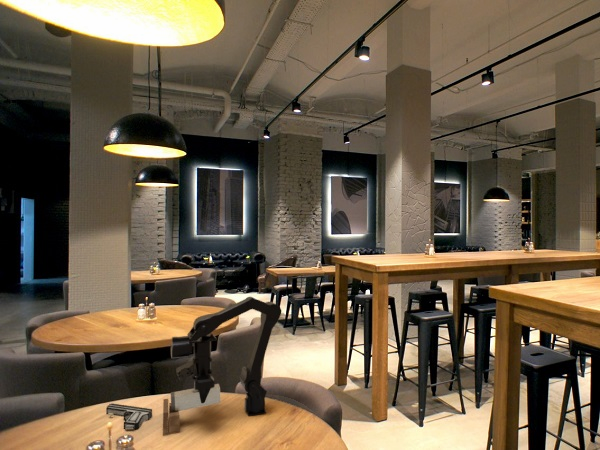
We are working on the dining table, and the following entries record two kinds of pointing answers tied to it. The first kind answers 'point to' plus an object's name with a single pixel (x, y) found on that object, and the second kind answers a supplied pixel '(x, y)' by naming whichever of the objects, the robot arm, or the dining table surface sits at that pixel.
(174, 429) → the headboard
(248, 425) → the dining table surface
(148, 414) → the handgun
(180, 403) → the rail
